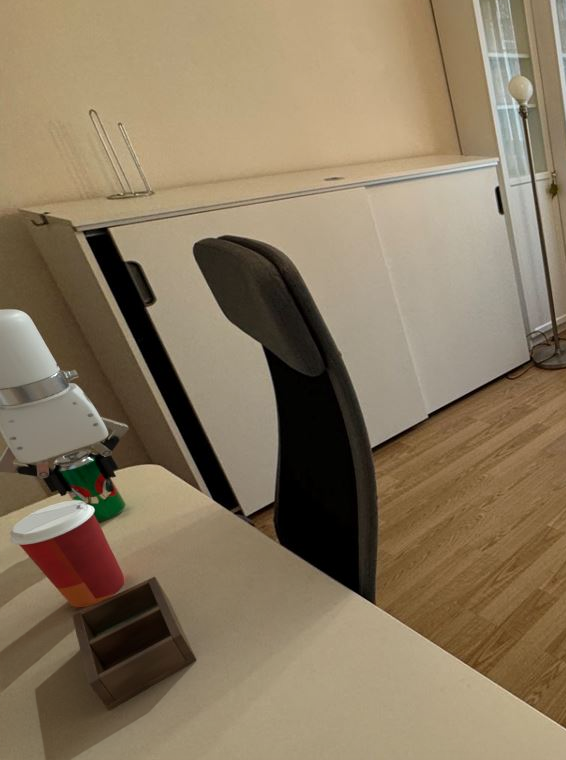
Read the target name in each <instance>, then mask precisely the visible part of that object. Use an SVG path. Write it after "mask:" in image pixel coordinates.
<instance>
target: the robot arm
mask: <svg viewBox="0 0 566 760" xmlns="http://www.w3.org/2000/svg"><path fill="white" fill-rule="evenodd" d="M78 378H80V376H79V374H78V372H77V371H76V369H73V370H64V369H63V370H62V369H61V368H60V366H59V365H58V363H57V361H56V360H55V357H54V356H53V355H52V353H51V350H50V349H49V347H48V346H47V344H46V342H45V340H44V339H43V336H42V335H41V333H40V332H39V330H38V328H37V327H36V325H35V323H34V321H33V319H32V318H31V316H29V314H27V313H26V312H25V311H22V310H19V309H14V308H13V309H11V308H10V309H9V308H7V309H6V308H5V309H0V433H1V436H2V437H3V439H4V441H5V443H6V444H7V446H6V448H4V449H5V450H4V451H3V453H2V455H1V456H0V473H7V474H9V473H10V474H19V475H24V476H31V477H37V478H39V479H42V480H43V482H44V483H45V485H46V486H47V488H48V489H49V492H51V493H54V492H58V493H59V495H60V496H61V497H64V496H67V494H68V492H67V491H66V489H65V488H64V486H63V484H62V483H61V481H60V480H59V478H58V477H57V475H56V473H55V472H54V470H53V468H51V467H50V466H49V459H52V458H55V457H59V456H63V455H66V454H69V453H72V452H75V451H78V450H81V449H83V448H86V447H90V448H92V450H94V451H96V453H97V455H98V457H99V460H100V461H101V463H102V465H103V467H104V468H105V470H106V472H107V473H108V475H109V477H110V478H111V479H113V478H116V477H117V475H116V473H115V471H117V470H119V467H118V465H117V463H116V461H115V459H114V458H113V456H112V454H113V451H114V449H115V448H116V447H117V445H118V444H119V442H120V440H121V439H122V438H124V436H125V435H126V433H127V432H129V430H130V427H129V426H128V424H127V423H123V422H119V421H117V420H113V419H109V418H106V417H104V416H101V415H100V413H99V411H98V409H96V407H95V406H94V404H93V402H92V401H91V400H90V398H89V397H88V396H87V394H86V393H85V392H84V391H83V389H82V388H81V387H80V386H79V385H78V384H76V383H72V382H71V381H73V380H74V379H78ZM108 430H112V432H111V434H109V431H108ZM15 459H16V460H17V461H18V462H19V463H18V462H14V461H15Z"/></svg>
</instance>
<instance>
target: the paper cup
mask: <svg viewBox="0 0 566 760" xmlns="http://www.w3.org/2000/svg"><path fill="white" fill-rule="evenodd" d="M94 511H95V510H94V507H93V506H90V505H87V504H86V503H85V502H83V501H80V500H72V499H71V500H66V501H61V502H57V503H54V504H50V505H48V506H45V507H43V508H39V509H37V510H35V511H34V512H32V513H30V514H28V515H26V516H25V517H23V518H22V519H20V520H19V521H17V522H16V523H15V524H14V525H13V527H12V530H10V537H9V542H10V544H14V545H19V546H20V548H21V549H22V550H23V551H24V552H25V554H26V555H27V556H28V557H29V558H30V559H31V560H32V562H33V563H34V564H35V565H36V566H37V568H38V569H39V570H40V571H41V572H42V574H44V576H45V577H46V578H47V579H48V580H49V582H50V583H51V584H52V585H53V586H54V587H55V588H56V589H57V590H58V592H59V593H60V594H61V595H62V596H63V597H64V598H65V600H66V601H67V602H68V603H69V604H70V605H71V606H72V607H74V608H86V607H91V606H93V605H95V604H97V603H99V602H101V601H104V600H106V599H108V598H110V597H112V596H114V595H116V594H117V592H119V591H120V590H122V588H123V586H124V585H125V583H126V577H125V575H124V573H123V571H122V569H121V567H120V565H119V562H118V560H117V558H116V556H115V555H114V552H113V550H112V548H111V547H110V544H109V541H108V540H107V537H106V536H105V533H104V531H103V529H102V527H101V525H100V522H98V521H97V519H96V518H95V516H94V514H93V513H94Z"/></svg>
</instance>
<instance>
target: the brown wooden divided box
mask: <svg viewBox="0 0 566 760" xmlns="http://www.w3.org/2000/svg"><path fill="white" fill-rule="evenodd" d="M71 618H72V622H73V626H74V630H75V635H76V638H77V639H76V640H77V643H78V646H79V650H80V655H81V658H82V662H83V666H84V670H85V674H86V678H87V683H88V685H89V687H91V689H92V691H94V693H95V695H96V696H97V697H98V698H99V700H100V701H101V702H102V704H103V705H104V707H105V708H106V709H107V710H108V711H111V710H113V709H115V708H117V707H118V706H119V705H121V704H124V703H125V702H127V701H128V700H130V699H132V698H134V697H135V696H137V695H139V694H140V693H142V692H144V691H145V690H148V689H149V688H151V687H153V686H155V685H156V684H158V683H160V682H161V681H163V680H165V679H167V678H168V677H170V676H172V675H174V674H175V673H177V672H179V671H180V670H183V669H184V668H186V667H187V666H189V665H191V664H193V663H194V662H196V661H197V657H196V655H195V652H194V650H193V649H192V647H191V644H190V642H189V640H188V638H187V635H186V634H185V631H184V629H183V627H182V625H181V622H180V620H179V618H178V616H177V613H176V611H175V610H174V607H173V605H172V603H171V601H170V599H169V598H168V596H167V594H166V593H165V591H164V589H163V587H162V585H161V584H160V582H159V581H158V579H157V577H156V576H152V577H150V578H148V579H147V580H144V581H142V582H139V583H137V584H136V585H133V586H132V587H129V588H127V589H125V590H123V591H121V592H118V593H115V594H113V595H112V596H110V597H108V598H107V599H105V600H103V601H101V602H98V603H96V604H93V605H90V606H88V607H87V608H85V609H82V610H80V611H78V612H77V613H75V614H72V615H71Z"/></svg>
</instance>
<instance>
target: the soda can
mask: <svg viewBox="0 0 566 760" xmlns="http://www.w3.org/2000/svg"><path fill="white" fill-rule="evenodd" d="M53 465H54V466H53V468H52V470H54V472H55V473H56V475H57V477H58V478H59V480H60V481H61V483H62V484H63V486H64V488H65V489H66V491H67V494H68V496H69V498H70V499H71V501H72V500H80V501H83V502H85V503H86V504H87V505H90V506H93V507H94V510H95V511H94V513H93V514H94V516H95V518H96V519H97V521H98V523H100V522H104V521H106V520H110V519H112V518H115V517H116V516H118V515H119V514H121V513H122V512H123V511H124V509H125V508H126V505H127V503H126V502H125V500H124V498H123V497H122V494H121V493H120V491H119V489H118V488H117V486H116V484H115V482H114V481H113V478H112V477H111V478H110V477H109V475H108V473H107V472H106V470H105V468H104V467H103V465H102V463H101V461H100V460H99V457H98V453H95V452H92V450H90V449H78V450H74V451H71V452H68V453H65V454H63V455H61V456H60V457H58V458H56V459H55V460H54V461H53Z"/></svg>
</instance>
